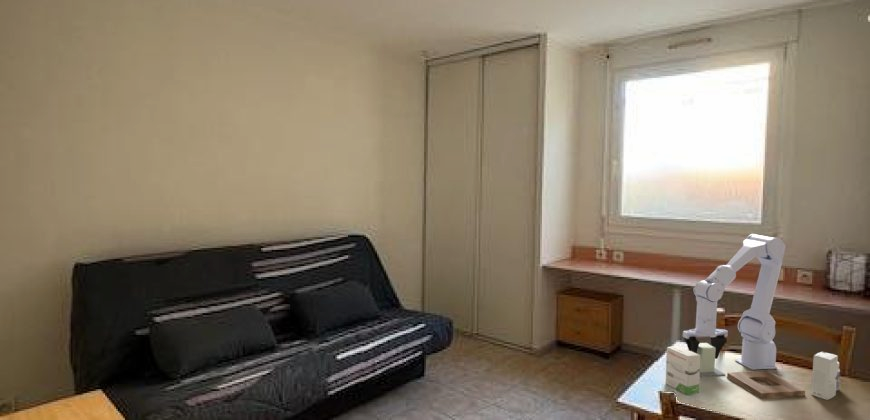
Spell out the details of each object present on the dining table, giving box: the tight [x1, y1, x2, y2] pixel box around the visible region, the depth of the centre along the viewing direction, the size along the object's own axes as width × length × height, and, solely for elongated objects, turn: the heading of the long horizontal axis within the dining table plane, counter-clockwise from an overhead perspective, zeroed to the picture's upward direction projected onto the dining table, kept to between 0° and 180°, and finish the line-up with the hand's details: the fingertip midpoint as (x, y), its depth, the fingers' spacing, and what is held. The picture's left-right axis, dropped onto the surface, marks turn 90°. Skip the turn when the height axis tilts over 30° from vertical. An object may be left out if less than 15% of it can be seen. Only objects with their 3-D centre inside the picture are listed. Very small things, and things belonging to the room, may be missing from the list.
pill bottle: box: [836, 361, 841, 391], centre depth 150 cm, size 5×5×8 cm
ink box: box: [665, 345, 700, 396], centre depth 149 cm, size 9×5×12 cm, turn 20°
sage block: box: [697, 342, 716, 372], centre depth 162 cm, size 4×4×8 cm
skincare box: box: [810, 351, 839, 401], centre depth 145 cm, size 6×4×12 cm
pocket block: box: [726, 370, 806, 399], centre depth 151 cm, size 14×14×2 cm
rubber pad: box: [699, 367, 726, 378], centre depth 162 cm, size 9×9×1 cm
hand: (703, 358), depth 162 cm, fingers open, 7 cm apart
